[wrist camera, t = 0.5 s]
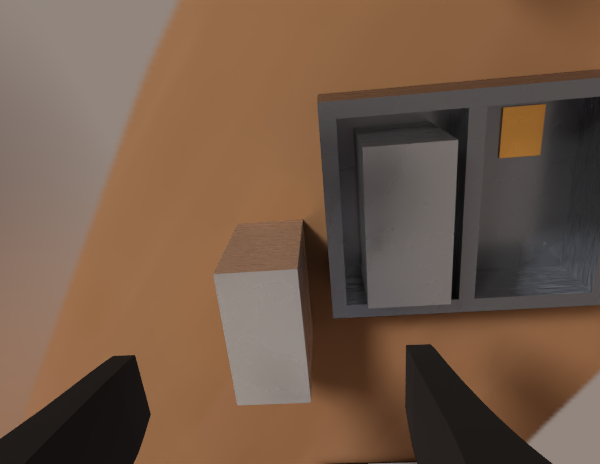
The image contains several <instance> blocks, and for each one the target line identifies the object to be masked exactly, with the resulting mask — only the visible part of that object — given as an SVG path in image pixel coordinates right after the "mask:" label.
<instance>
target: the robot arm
mask: <svg viewBox="0 0 600 464" xmlns="http://www.w3.org/2000/svg"><path fill="white" fill-rule="evenodd" d="M405 408H406V414H407V419H408V425H409V431H410V436H411V441H412V447H413V450H414V453H415V457H416V460H417V462H409V463H370V464H552V463H551V462H549V461H548V460H547V459H545V458H544V457H543V456H542V455H541V454H539V453H538V452H537V451H536V450H534V449H533V448H532V447H531V446H529V445H528V444H527V443H526V442H525V441H524V440H523V439H521V438H520V437H519V436H518V435H517V434H516V433H515V432H513V431H512V430H511V429H510V428H509V427H508V426H507V425H506V424H505V423H504V422H503V421H502V420H501V419H499V418H498V417H497V416H496V415H495V414H494V413H493V412H492V411H491V410H490V409H489V408H488V407H487V406H486V405H485V404H484V403H483V402H482V401H481V400H480V399H479V398H478V397H477V396H476V395H475V394H474V393H473V391H472V390H471V389H470V388H469V387H468V386H467V385H466V384H465V383H464V382H463V381H462V380H461V379H460V377H459V376H458V375H457V374H456V373H455V372H454V371H453V370H452V368H451V367H450V366H449V365H448V364H447V363H446V361H445V360H444V359H443V358H442V357H441V355H440V354H439V353H438V352H437V351H436V349H435V348H434V347H433V346H432V345H430V344H426V345H406V402H405ZM150 415H151V414H150V410H149V406H148V402H147V399H146V395H145V391H144V387H143V384H142V380H141V376H140V372H139V368H138V365H137V361H136V357H135V355H128V356H113V357H111V358H110V359H108V360H107V361H105V362H104V363H102V364H101V365H100V366H98V367H97V368H96V369H94V370H93V371H92V372H90V373H89V374H88V375H86V376H85V377H84V378H82V379H81V380H80V381H79V382H77V383H76V384H75V385H73V386H72V387H71V388H69V389H68V390H67V391H65V392H64V393H63V394H61V395H60V396H59V397H58V398H56V399H55V400H54V401H52V402H51V403H50V404H48V405H47V406H46V407H44V408H43V409H42V410H40V411H39V412H37V413H36V414H35V415H33V416H32V417H30V418H29V419H28V420H26V421H25V422H23V423H22V424H21V425H19V426H18V427H16V428H15V429H14V430H12V431H11V432H9V433H8V434H7V435H5V436H4V437H2V438H1V439H0V464H134V461H135V459H136V457H137V455H138V452H139V450H140V447H141V444H142V441H143V438H144V435H145V431H146V428H147V425H148V422H149V418H150Z"/></svg>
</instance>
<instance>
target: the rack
mask: <svg viewBox="0 0 600 464" xmlns="http://www.w3.org/2000/svg"><path fill="white" fill-rule="evenodd" d="M317 103H318V117H319V131H320V144H321V158H322V172H323V186H324V200H325V214H326V228H327V241H328V255H329V269H330V283H331V297H332V311H333V319H335V318H354V317H374V316H394V315H413V314H433V313H453V312H473V311H492V310H512V309H532V308H551V307H571V306H591V305H600V70H587V71H576V72H565V73H554V74H543V75H531V76H520V77H509V78H498V79H487V80H476V81H464V82H453V83H442V84H431V85H420V86H409V87H397V88H386V89H375V90H364V91H353V92H342V93H330V94H319V95H318V102H317Z"/></svg>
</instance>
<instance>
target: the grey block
mask: <svg viewBox="0 0 600 464" xmlns="http://www.w3.org/2000/svg"><path fill="white" fill-rule="evenodd" d="M213 276H214V281H215V286H216V292H217V297H218V303H219V308H220V314H221V319H222V324H223V330H224V335H225V341H226V346H227V352H228V357H229V362H230V368H231V373H232V379H233V384H234V390H235V395H236V400H237V405H258V404H284V403H311V386H312V349H313V325H312V314H311V303H310V293H309V282H308V271H307V261H306V250H305V239H304V228H303V219H300V220H286V221H271V222H256V223H242V224H237V226H236V228H235V230H234V232H233V234H232V236H231V238H230V240H229V243H228V245H227V247H226V249H225V251H224V253H223V255H222V257H221V259H220V261H219V263H218V265H217V267H216V270H215V272H214V274H213Z"/></svg>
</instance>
